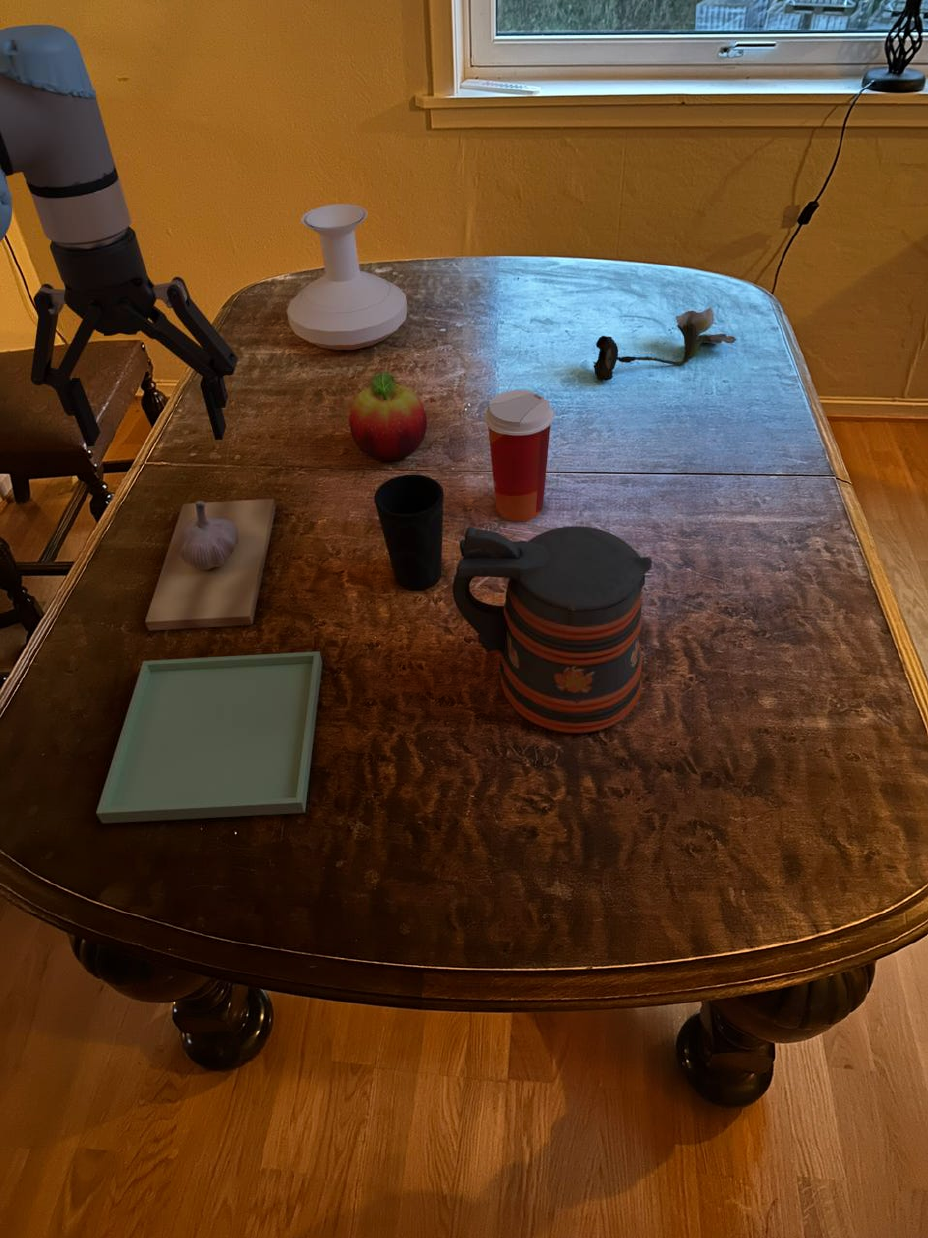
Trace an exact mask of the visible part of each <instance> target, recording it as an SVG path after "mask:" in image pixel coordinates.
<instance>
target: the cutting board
mask: <svg viewBox="0 0 928 1238" xmlns="http://www.w3.org/2000/svg"><path fill="white" fill-rule="evenodd" d="M204 503H205V516H210V517H213V518H219V519H227V520H229V521H231V522H232V523H234V524H235V526H236V527H237V530H238V543H237V545H236V546H235V547H234V550H233V552H232V554H231V555H230V556H229V558H228V560H227V562H226V563H225V564H224V565H222V566H220V567H213V568H211V569H208V570H200V569H196V568H194V567H193V566H191V565H188V564H187V563H185V562H184V560H183V559H182V557H181V554H180V550H181V546H180V535H181V532H182V531H183V529H184V528H185V527H186V526H187V524H188V522H189V521H190V520H191V519H193V518H196V517H197V510H196V502H192V503H183V504H182V506H181V509H180V511H179V514H178V515H179V516H178V518H177V522H176V525H175V528H174V530H173V534H172V537H171V540H170V543H169V547H168V549H167V552H166V556H165V559H164V562H163V565H162V568H161V571H160V574H159V577H158V580H157V583H156V586H155V590H154V593H153V595H152V599H151V601H150V604H149V608H148V612H147V615H146V617H145V621H144V623H145V625H146V628H147V630H148V631H150V632H151V631H166V630H184V629H186V630H187V629H203V628H206V629H207V628H220V627H221V628H222V627H239V626H240V627H241V626H253V623H254V619H255V614H256V609H257V603H258V599H259V594H260V589H261V583H262V579H263V578H262V577H263V573H264V569H265V564H266V558H267V554H268V548H269V543H270V538H271V533H272V529H273V523H274V518H275V514H276V510H277V509H276V508H277V506H276V502H275V499H274V498H263V499H262V498H260V499H244V500H226V501H211V502H209V501H208V502H204Z"/></svg>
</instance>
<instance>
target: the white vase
mask: <svg viewBox="0 0 928 1238" xmlns="http://www.w3.org/2000/svg"><path fill="white" fill-rule="evenodd" d="M368 215H369V212H368V211H367V210H366V209H365V207H362V206H359V205H356V204H347V203H341V204H340V203H339V204H337V203H335V204H328V205H323V206H319V207H315V208H313V209H310V210H308V211H307V212H305V213H304V214H302V216H301V218H300V222H301V224H302V225H303V226H305V227H307V228H309V229H310V230H311V231H314V232H315V233H317V234H318V237H319V243H320V248H321V256H322V261H323V267H324V274H323V275H321V276H320V277H318V278H316V279H315V280H313V281H312V282H309V283H308V284H307V285H306V286H305V287H304V288H303V289H302V290H300V292H299V293H298V294H296V295H295V296H294V297H293V298H292V299H291V300H290V301H289V304H288V307H287V309H286V314H287V319H288V324H289V326H290V328H291V329H292V331H293V333H294V334H295V335H296V336H298V337H299V338H302V340H305V341H307V342H309V343H311V344H313V345H315V346H317V347H319V348H321V349H328V350H334V351H355V350H359V349H363V348H367V347H372V346H374V345H376V344H378V343H381V342H383V341H384V340H386V339H387V338H389V337H390V336H391V335H393V333H395V332H396V331H397V330H398V329H399V328H400V327H401V326H402V324H404V323H405V322H406V320H407V314H408V300H407V295H406V294H405V293H404V292H403V290H402V289H401V288H400V287H399V286H398V285H395V284H394V283H392V282H390V281H388V280H386V279H385V278H383V277H380V276H378V275H375V274H373V273H370V272H366V271H363V270H361V269H360V264H359V262H360V261H359V255H358V248H357V241H356V233H355V230H356V229H357V228H358V227H359V226H360V225H361V224H362V223H363V221H365V220H366V219H367V217H368Z"/></svg>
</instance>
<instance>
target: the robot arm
mask: <svg viewBox="0 0 928 1238" xmlns="http://www.w3.org/2000/svg"><path fill="white" fill-rule="evenodd" d="M20 173H22V174H23V177H24V178H25V183H26V185H27V188H28V190H29V193H30V196H31V199H32V202H33V205H34V207H35V210H36V214H37V216H38V219H39V222H40V225H41V229H42V231H43V234H44V236H45V237H46V239H48V240H50V241H51V242H50V244H49V249H50V252H51V254H52V257H53V261H54V263H55V266H56V269H57V272H58V275H59V278H60V280H61V282H62V283H63V285H64V289H62V288H61V289H59V288H54V287H53V285H51V284H50V283H43V284H41V286H40V287H39V289H38V291H37V292H36V293H35V294H34V296H33V299H32V300H33V304H34V308H35V311H36V315H37V324H36V332H35V338H34V339H35V341H34V348H33V356H32V362H31V372H30V382H31V383H32V384H33V385H36V386H42V385H45V386H49V387H52V388H53V389H54V390H55V392H56V394H57V398H58V400H59V402H60V404H61V406H62V410H63V412H64V413H65V414H66V416H68V417H74V418H75V421H76V423H77V426H78V429H79V431H80V433H81V436H82V439H83V441H84V444H85V446H86V448H87V447H94V446H95V444H96V442H97V441H98V438H99V436H100V434H101V430H100V428H99V424H98V422H97V420H96V417H95V415H94V412H93V409H92V407H91V404H90V401H89V398H88V396H87V393H86V390H85V387H84V385H83V383H82V382H83V381H82V380H81V377H72V378H71V375H72V374H73V371H74V370H75V368H76V366H77V364H78V362H79V360H80V359H81V356H82V354H83V353H84V351H85V349H86V347H87V345H88V343H89V341H90V339H91V338H92V335H93V333H94V331H96V332H98V333H99V334H102V335H103V337H112V336H116V335H119V334H121V335H125V336H134V335H135V336H136V335H137V334H138V333H139V332H141V333H143V334H144V335H145V336H146V337H148V339H151V340H155V341H157V342H158V343H159V344H161V345H162V346H163V347H164V348H165V349H167V350H168V351H169V352H171V353H172V354H173V355H174V356H175V357H177V358H178V359H180V360H181V361H182V362H183V363H185V364H186V365H187V366H189V367H190V368H191V369H192V370H193V371H195V372H196V373H197V374H198V375H200V376H201V377H202V378H201V381H200V383H199V386H200V390H201V393H202V397H203V401H204V405H205V408H206V412H207V416H208V419H209V422H210V426H211V431H212V434H213V437H214V440H215V441H222V440H224V439H223V438H224V435H225V432H226V428H227V422H226V419H225V415H224V412H223V409H226V406H227V403H228V399H229V394H228V391H227V386H226V383H225V379H224V377H225V376H228V377H230V376H233V375H234V373H235V371H236V368H237V364H238V360H239V358H238V356H237V354H236V353H235V352H234V351H233V349H232V348H231V346H229V344H228V343H227V342H226V341H225V340H224V338H223V337H222V336H221V334H220V333H219V332H218V331H217V330H216V328H215V327H214V325H213V324H212V323H211V322H210V321H209V319H208V318H207V316H206V315H205V314H204V313H203V312H202V310H201V309H200V308H199V307H198V305H197V304H196V303H195V302H194V301H193V299H192V297H191V295H190V293H189V290H188V287H187V284H186V282H185V280H184V279H183V278H182V277H180V276H175V277H173V278H172V279H171V282H166V283H165V282H164V283H158V284H154V283H153V281H152V280H151V279H150V278H149V275H148V272H147V268H146V264H145V260H144V258H143V254H142V250H141V248H140V243H139V241H138V236H137V234H136V231H135V230H134V229H133V228H132V227H131V223H132V217H131V214H130V210H129V207H128V204H127V200H126V196H125V193H124V190H123V187H122V183H121V179H120V176H119V174H118V170H117V166H116V164H115V159H114V157H113V152H112V149H111V146H110V142H109V139H108V135H107V132H106V128H105V123H104V121H103V117H102V113H101V110H100V106H99V103H98V99H97V91H96V89H94V86H93V83H92V81H91V78H90V76H89V73H88V69H87V67H86V64H85V61H84V58H83V54H82V52H81V49H80V46H79V43H78V41H77V40H76V38H75V37H74V36H73V35H72V34H71V33H70V32H68V31H67V30H66V29H64V28H63V27H60V26H57V25H52V24H51V25H50V24H27V25H17V26H10V27H6V28H4V29H0V243H1V242H2V240H3V239H4V238H5V236H6V235H7V233H8V230H9V229H10V227H11V223H12V218H13V202H12V201H13V197H12V194H11V192H10V189H9V184H8V179H7V177H9V176H13V175H15V174H20ZM157 300H159V301H162V302H163V303H164V304H165V306H166V307H167V308H168V309H172V310H173V312H174V315H175V316H176V317H177V318H178V320H179V321H180V322H181V323H182V325H183V326H184V327H185V329H186V330H187V331H188V332H189V333H190V335H192V337H193V339H192V338H191V337H189V335H187V334H186V333H185V332H183V330H181V329H180V328H178V326H176V325H175V324H174V323H173V322H171V321H170V320H169V319H168V317H167V315H166V313H164V312H163V311H161V309H159V308H158V307H157V306H156V305H155V304H156V302H157ZM64 305H66V307H68V308H69V310H71V311H72V312H73V313H74V314H76V315H77V316H78V317H79V318H80V319H81V322H80V324H79V326H78V328H77V330H76V332H75V334H74V335H73V338H72V340H71V342H70V343H69V346H68V348H67V350H66V352H65V354H64V356H63V358H62V359H61V362H60V364H59V366H58V368H55V367H52V364H53V358H54V357H53V356H54V349H55V343H56V334H57V328H58V323H59V315H60V313H61V312H62V310H63V309H64ZM194 339H195V340H196V341H195V340H194Z"/></svg>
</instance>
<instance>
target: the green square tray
mask: <svg viewBox="0 0 928 1238" xmlns="http://www.w3.org/2000/svg"><path fill="white" fill-rule="evenodd" d="M322 667H323V659H322V655H321V652H320V651H300V652H284V653H282V652H281V653H264V654H247V655H246V654H245V655H244V654H243V655H228V656H209V657H192V658H176V659H175V658H173V659H156V660H143V661H142V665H141V667H140V671H139V674H138V677H137V680H136V682H135V686H134V690H133V693H132V697H131V699H130V702H129V706H128V709H127V712H126V716H125V719H124V722H123V726H122V728H121V732H120V735H119V738H118V742H117V745H116V748H115V751H114V754H113V757H112V760H111V764H110V768H109V770H108V774H107V776H106V780H105V784H104V785H103V786H104V787H103V789H102V792H101V796H100V799H99V803H98V805H97V808H96V812H95V814H96V816H97V817H98V819H99V820H100V822H101V824H120V823H138V822H139V823H140V822H157V821H177V820H198V819H216V818H217V819H218V818H234V817H254V816H273V815H274V816H275V815H287V814H288V815H290V814H291V815H293V814H305V813H306V807H307V798H308V791H309V789H308V788H309V780H310V773H311V764H312V754H313V745H314V739H315V730H316V729H315V728H316V721H317V720H316V719H317V712H318V703H319V695H320V694H319V693H320V685H321V678H322V677H321V676H322V669H323V668H322Z"/></svg>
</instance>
